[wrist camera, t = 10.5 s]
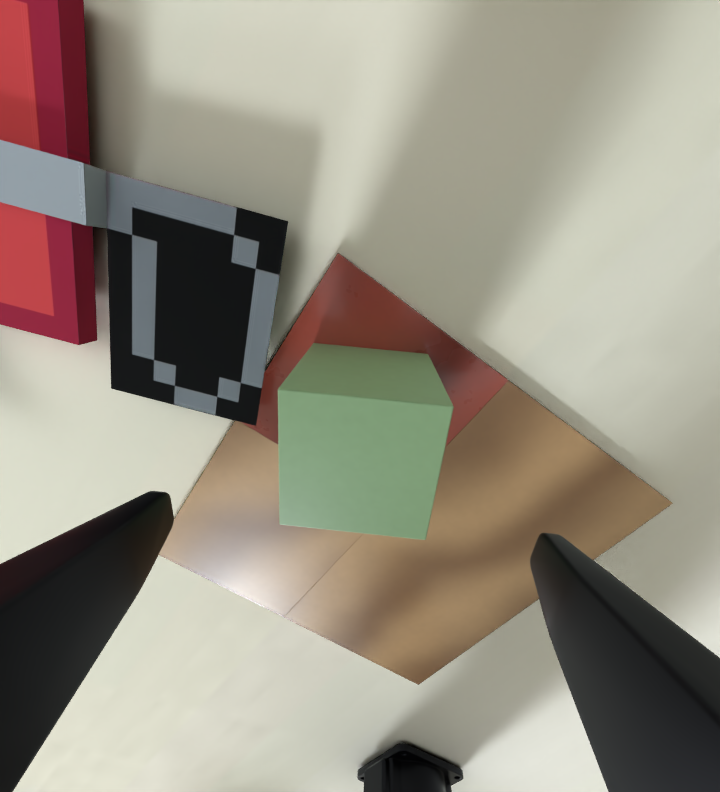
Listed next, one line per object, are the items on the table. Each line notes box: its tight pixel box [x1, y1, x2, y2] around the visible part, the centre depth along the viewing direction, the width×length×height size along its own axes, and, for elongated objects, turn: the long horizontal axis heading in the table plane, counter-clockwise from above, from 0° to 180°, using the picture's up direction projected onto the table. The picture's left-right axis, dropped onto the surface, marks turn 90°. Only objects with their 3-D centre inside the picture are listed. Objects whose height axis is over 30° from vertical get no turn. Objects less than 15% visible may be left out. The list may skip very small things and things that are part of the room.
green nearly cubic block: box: [278, 343, 454, 540], centre depth 13 cm, size 5×5×6 cm
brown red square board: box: [159, 253, 672, 685], centre depth 18 cm, size 20×20×1 cm
